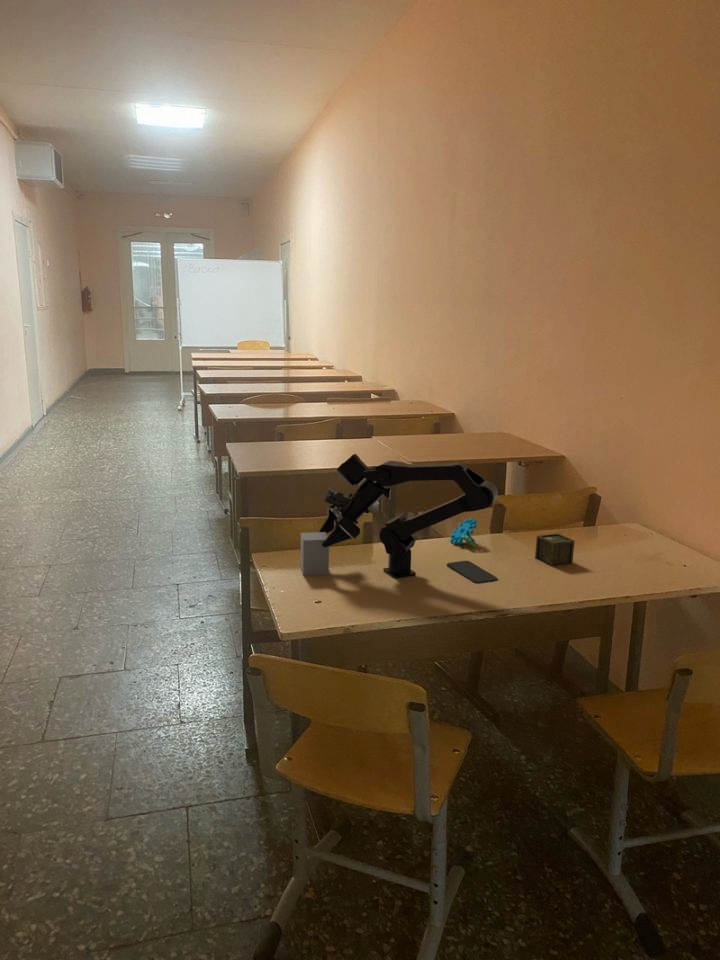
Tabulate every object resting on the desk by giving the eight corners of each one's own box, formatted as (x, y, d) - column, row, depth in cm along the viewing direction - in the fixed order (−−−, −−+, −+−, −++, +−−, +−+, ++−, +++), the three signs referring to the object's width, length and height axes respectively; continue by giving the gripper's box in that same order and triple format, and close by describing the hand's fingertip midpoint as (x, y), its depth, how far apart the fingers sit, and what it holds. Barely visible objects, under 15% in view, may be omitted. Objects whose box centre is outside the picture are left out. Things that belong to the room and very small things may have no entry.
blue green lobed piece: (446, 532, 217) (470, 511, 215) (458, 544, 219) (483, 524, 217) (451, 548, 207) (477, 526, 205) (464, 561, 209) (490, 539, 206)
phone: (475, 582, 179) (445, 563, 193) (475, 585, 180) (444, 566, 193) (499, 578, 182) (468, 560, 196) (499, 581, 183) (468, 563, 196)
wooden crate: (534, 560, 200) (536, 535, 199) (555, 557, 203) (557, 533, 202) (550, 568, 194) (553, 543, 192) (572, 565, 197) (574, 540, 195)
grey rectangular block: (324, 565, 190) (325, 532, 188) (328, 574, 184) (329, 539, 181) (300, 567, 189) (300, 532, 186) (303, 575, 182) (303, 540, 180)
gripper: (336, 470, 191) (295, 510, 191) (348, 486, 173) (302, 530, 173) (364, 498, 194) (324, 537, 195) (378, 516, 176) (334, 560, 177)
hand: (320, 540), depth 185 cm, fingers open, 9 cm apart
